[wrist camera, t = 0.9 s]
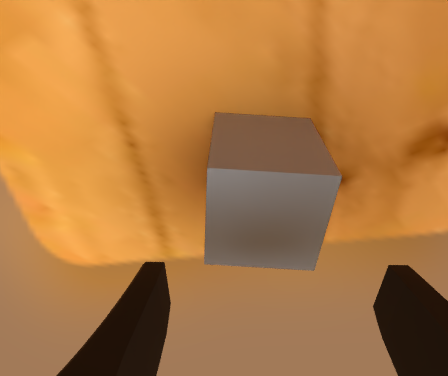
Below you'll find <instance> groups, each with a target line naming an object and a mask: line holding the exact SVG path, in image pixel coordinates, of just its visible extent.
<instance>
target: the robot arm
mask: <svg viewBox="0 0 448 376" xmlns="http://www.w3.org/2000/svg"><path fill="white" fill-rule="evenodd" d="M170 304H171V302H170V296H169V289H168V283H167V276H166V269H165V263H164V262H145V263H144V264H143V265H142V267H141V268H140V270H139V272H138V273H137V275H136V276H135V278H134V279H133V281H132V282H131V284H130V285H129V287H128V288H127V289H126V291H125V292H124V294H123V295H122V296H121V298H120V299H119V301H118V302H117V303H116V305H115V306H114V307H113V309H112V310H111V311H110V313H109V314H108V315H107V317H106V318H105V319H104V321H103V322H102V323H101V325H100V326H99V327H98V328H97V329H96V331H95V332H94V333H93V334H92V336H91V337H90V338H89V339H88V340H87V342H86V343H85V344H84V345H83V347H82V348H81V349H80V350H79V351H78V352H77V354H76V355H75V356H74V357H73V358H72V359H71V360H70V361H69V363H68V364H67V365H66V366H65V367H64V368H63V369H62V370H61V371H60V372H59V373H58V375H57V376H156V374H157V371H158V367H159V363H160V359H161V354H162V350H163V346H164V342H165V338H166V334H167V327H168V320H169V312H170ZM373 308H374V311H375V315H376V319H377V322H378V326H379V329H380V332H381V335H382V339H383V341H384V343H385V346H386V348H387V351H388V353H389V355H390V357H391V360H392V362H393V365H394V367H395V369H396V372H397V374H398V376H448V301H447V300H446V299H445V298H443V296H441V295H440V294H439V293H438V292H437V291H436V290H435V289H434V288H433V287H432V286H431V285H429V284H428V283H427V282H426V281H425V280H424V279H423V278H422V277H421V276H420V275H418V274H417V273H416V272H415V271H414V270H413V269H412V268H410V267H409V266H408V265H389V266H388V268H387V271H386V274H385V276H384V279H383V281H382V284H381V287H380V289H379V292H378V295H377V297H376V300H375V303H374V305H373Z"/></svg>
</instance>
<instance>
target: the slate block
mask: <svg viewBox="0 0 448 376" xmlns="http://www.w3.org/2000/svg"><path fill="white" fill-rule="evenodd" d="M341 178H342V175H341V173H340V171H339V170H338V168H337V166H336V164H335V162H334V161H333V159H332V157H331V155H330V153H329V151H328V150H327V148H326V146H325V144H324V142H323V141H322V139H321V137H320V135H319V133H318V132H317V130H316V128H315V126H314V124H313V123H312V121H311V119H310V118H296V117H280V116H264V115H248V114H232V113H216V112H215V118H214V124H213V131H212V138H211V145H210V152H209V159H208V166H207V190H206V224H205V257H204V264H210V265H228V266H244V267H261V268H262V267H263V268H278V269H294V270H312V271H314V270H315V266H316V263H317V259H318V256H319V253H320V249H321V246H322V243H323V239H324V236H325V232H326V229H327V226H328V222H329V219H330V216H331V212H332V209H333V205H334V202H335V199H336V195H337V192H338V189H339V185H340V182H341Z"/></svg>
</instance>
